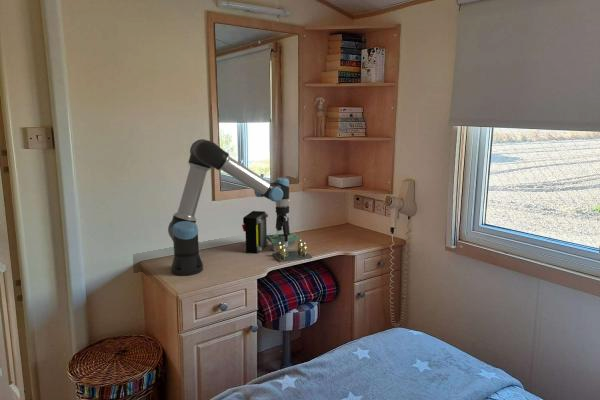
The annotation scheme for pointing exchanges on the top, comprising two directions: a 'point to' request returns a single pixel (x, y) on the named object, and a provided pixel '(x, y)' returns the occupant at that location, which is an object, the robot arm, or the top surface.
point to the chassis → (292, 253)
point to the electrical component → (255, 231)
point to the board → (281, 238)
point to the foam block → (290, 246)
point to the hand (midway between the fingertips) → (282, 244)
